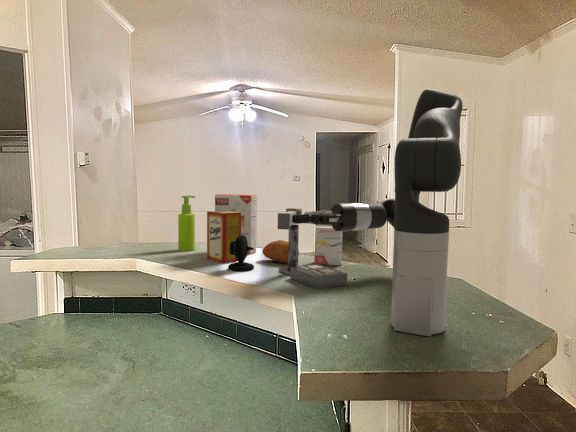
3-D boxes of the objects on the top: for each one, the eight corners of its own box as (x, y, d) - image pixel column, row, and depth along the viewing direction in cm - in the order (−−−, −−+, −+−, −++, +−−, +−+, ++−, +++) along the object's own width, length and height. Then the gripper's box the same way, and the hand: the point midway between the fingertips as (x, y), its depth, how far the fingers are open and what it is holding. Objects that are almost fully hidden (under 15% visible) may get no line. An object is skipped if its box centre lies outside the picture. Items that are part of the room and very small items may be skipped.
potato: (287, 266, 133) (287, 243, 132) (258, 260, 141) (258, 239, 141) (302, 263, 138) (303, 241, 137) (273, 258, 147) (273, 237, 146)
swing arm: (287, 222, 125) (287, 208, 125) (302, 222, 125) (302, 208, 124) (274, 229, 105) (274, 212, 105) (292, 230, 105) (292, 213, 104)
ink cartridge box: (314, 264, 136) (315, 217, 135) (314, 261, 141) (315, 216, 140) (341, 265, 135) (343, 218, 134) (341, 262, 140) (342, 216, 139)
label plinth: (346, 285, 109) (347, 272, 109) (316, 289, 105) (316, 275, 104) (318, 275, 120) (319, 263, 120) (290, 278, 116) (290, 265, 116)
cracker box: (213, 252, 156) (214, 194, 155) (221, 250, 162) (221, 193, 160) (250, 255, 152) (250, 194, 151) (256, 252, 158) (257, 194, 156)
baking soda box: (240, 261, 140) (240, 211, 139) (223, 263, 136) (223, 212, 135) (223, 257, 147) (223, 209, 146) (207, 259, 143) (207, 210, 142)
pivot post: (278, 271, 125) (279, 224, 124) (297, 269, 128) (297, 223, 127) (288, 275, 120) (289, 226, 119) (307, 273, 123) (308, 225, 122)
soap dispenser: (200, 249, 163) (200, 195, 162) (186, 251, 157) (186, 196, 156) (188, 247, 166) (188, 195, 165) (175, 250, 160) (174, 195, 159)
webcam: (232, 266, 132) (232, 233, 131) (256, 267, 131) (257, 233, 130) (224, 271, 124) (224, 236, 124) (250, 272, 123) (250, 237, 122)
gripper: (338, 201, 125) (283, 203, 118) (365, 204, 114) (306, 206, 106) (337, 227, 126) (283, 230, 119) (364, 233, 114) (305, 236, 107)
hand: (294, 219), depth 112 cm, fingers closed
